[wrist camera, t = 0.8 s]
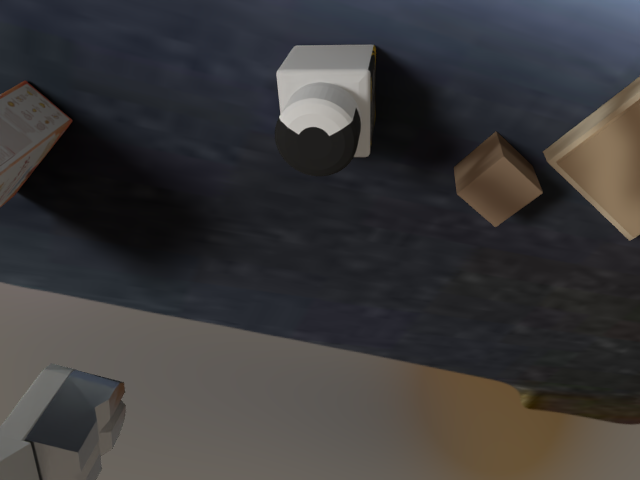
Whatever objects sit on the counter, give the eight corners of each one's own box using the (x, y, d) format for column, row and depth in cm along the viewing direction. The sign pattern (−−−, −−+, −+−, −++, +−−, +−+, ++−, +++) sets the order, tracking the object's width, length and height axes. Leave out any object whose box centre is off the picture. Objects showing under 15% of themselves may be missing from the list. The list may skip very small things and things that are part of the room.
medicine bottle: (375, 123, 47) (364, 189, 37) (299, 122, 48) (270, 186, 39) (376, 43, 43) (364, 94, 33) (293, 44, 44) (258, 94, 34)
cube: (496, 130, 46) (503, 156, 42) (532, 165, 47) (542, 192, 43) (453, 166, 49) (456, 193, 45) (489, 198, 50) (495, 227, 46)
